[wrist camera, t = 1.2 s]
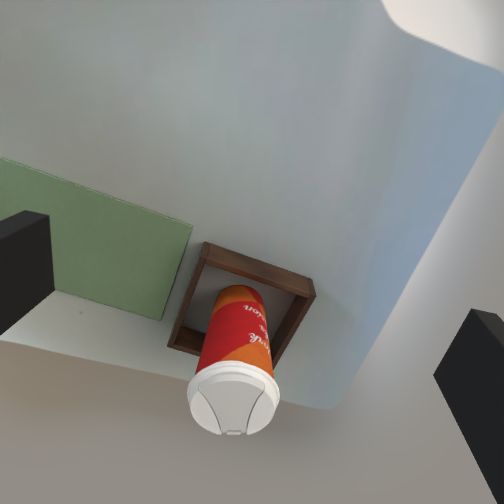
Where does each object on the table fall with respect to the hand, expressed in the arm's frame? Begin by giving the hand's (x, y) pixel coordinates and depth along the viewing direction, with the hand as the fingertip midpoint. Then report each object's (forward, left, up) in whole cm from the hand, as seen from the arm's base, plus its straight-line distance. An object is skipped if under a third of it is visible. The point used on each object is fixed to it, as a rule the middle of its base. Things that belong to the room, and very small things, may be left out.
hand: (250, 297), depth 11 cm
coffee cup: (+5, -18, -26) cm, 32 cm away
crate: (+5, -18, -26) cm, 32 cm away
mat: (-13, -17, -26) cm, 34 cm away
